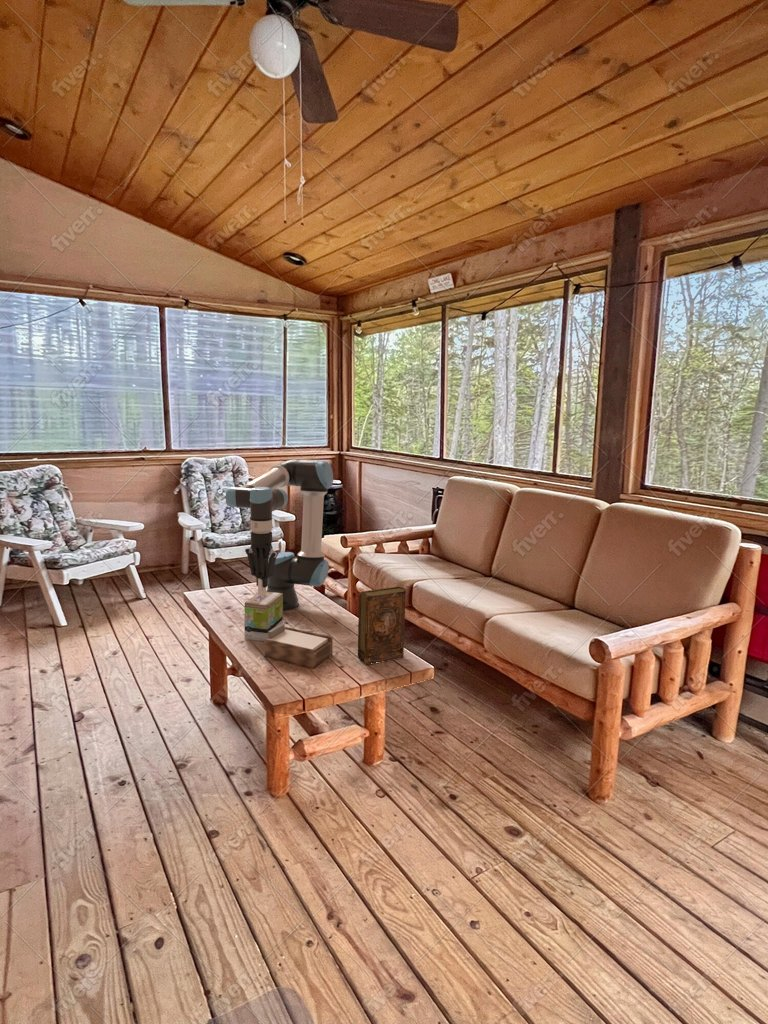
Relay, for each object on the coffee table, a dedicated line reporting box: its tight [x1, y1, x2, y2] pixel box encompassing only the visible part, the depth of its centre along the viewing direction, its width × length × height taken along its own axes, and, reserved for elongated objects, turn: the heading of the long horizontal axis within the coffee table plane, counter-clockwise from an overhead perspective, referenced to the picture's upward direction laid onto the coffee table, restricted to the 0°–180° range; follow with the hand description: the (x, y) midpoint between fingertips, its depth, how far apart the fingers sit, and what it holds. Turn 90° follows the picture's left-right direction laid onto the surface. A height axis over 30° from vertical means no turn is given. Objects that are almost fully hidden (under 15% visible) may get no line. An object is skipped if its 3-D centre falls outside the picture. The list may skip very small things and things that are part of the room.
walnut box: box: [263, 626, 334, 670], centre depth 207 cm, size 20×13×7 cm, turn 65°
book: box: [357, 586, 407, 666], centre depth 205 cm, size 16×6×25 cm, turn 118°
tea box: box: [243, 592, 284, 642], centre depth 226 cm, size 15×10×15 cm, turn 168°
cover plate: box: [268, 623, 328, 651], centre depth 207 cm, size 18×11×4 cm, turn 65°
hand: (262, 595), depth 210 cm, fingers closed
